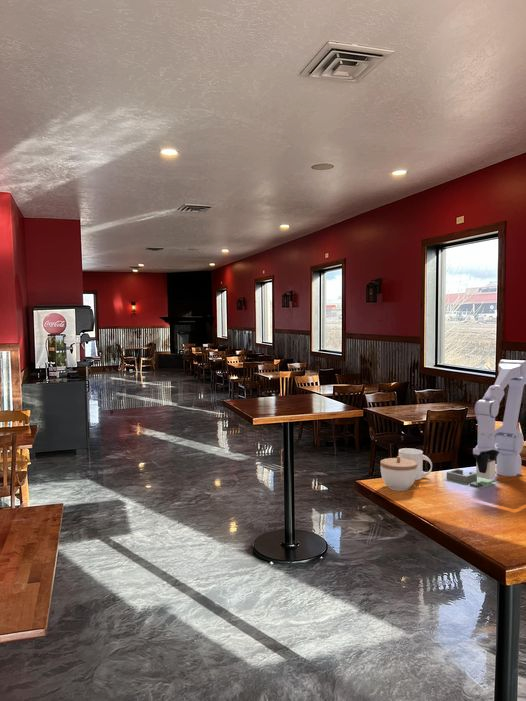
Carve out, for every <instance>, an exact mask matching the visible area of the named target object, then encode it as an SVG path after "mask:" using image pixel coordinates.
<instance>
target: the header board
mask: <svg viewBox="0 0 526 701" xmlns="http://www.w3.org/2000/svg"><path fill="white" fill-rule="evenodd" d="M442 481H446V482H451V483H455V484H459V485H464V486H467V487H472V488H477V489H480V490H482V489H485V488H487V487H490V486H493V485H495V484H498V483H500V481H498V480H494V479H486V478H481V477H476V472H473V471H470V472H469V474H467V473H464V470H463V469H460V468H456V469H451V470H448V471H446V477H445V478H442Z"/></svg>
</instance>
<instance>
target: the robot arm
mask: <svg viewBox="0 0 526 701" xmlns="http://www.w3.org/2000/svg"><path fill="white" fill-rule="evenodd" d="M497 365H498V366H497V368H498V369H497V370H498V375H497V377H496V380H495V382H494V384H493V385H490V386H489V387H488V389H486V392H485V393H484V396H483V397H482V399H479V400H477V401H476V402H475V406H474V413H475V418H476V421H477V445H476V446H475V447H474V448H472V456H473V457H474V458H475V461H477V464H478V468H479V472H481V473H486V470H487V463H488V459H490V460H495V461H496V468H495V471H496V473H495V474H497V475H500V476H502V477H503V476H504V477H516V476H517V475H522V476H524V474H523V473H522V456H521V455H520V454H521V452H522V451H523V448H524V435H523V433H522V432H521V431H520V430H519V429H518V428H517V426H518V422H519V415H520V410H521V403H522V398H523V393H524V392H523V391H524V387H525V385H526V360H518V359H517V360H515V359H513V360H512V359H500V360H499V362H498V364H497ZM507 386H508V391H507V395H506V396H507V397H506V402H505V409H504V414H503V419H502V420H503V421H502V425H501V426H499V427H497V428H496V417H497V416H498V414H499V411H500V410H499V409H500V403H501V401H502V400H503V398H504V396H505V388H506V387H507Z"/></svg>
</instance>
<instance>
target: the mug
mask: <svg viewBox="0 0 526 701" xmlns="http://www.w3.org/2000/svg"><path fill="white" fill-rule="evenodd" d="M423 453H424V451H423V450H421V449H416V448H410V447H409V448H407V447H405V448H399V449H398V456H399V457H400V458H403V459H409V460H413V461H415V462H416V463H417V473H416V479H415V481H417V480H422V479H423V477H427V476H428V475H430V473H431V472H432V471H433V470H432V469H433V462H432V460H431V459H430V458H429V457H428V456H427V455H425V454H423ZM424 461H427V462H428V463H429V464H430V469H429V470H428V471H424V470H423V465H424V464H423V462H424Z"/></svg>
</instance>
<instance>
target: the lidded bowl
mask: <svg viewBox="0 0 526 701" xmlns="http://www.w3.org/2000/svg"><path fill="white" fill-rule="evenodd" d="M379 463H380V474H381V479H382V481H383V483H384V484H385V486H387V488H388V489H390V490H392V491H397V492H402V491H408V490H409V489H410V488H411V486H412V485H414V483H415V481H416V480H415V479H416V473H417V463H416V462H415V461H413V460H409V459H403V458H400V457H399V455H397V456H396V457H388V458H384V459H381V460H380V462H379Z"/></svg>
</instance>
